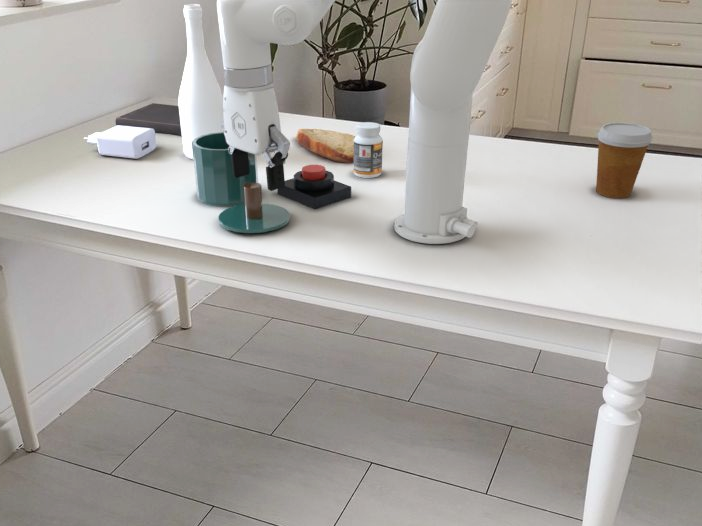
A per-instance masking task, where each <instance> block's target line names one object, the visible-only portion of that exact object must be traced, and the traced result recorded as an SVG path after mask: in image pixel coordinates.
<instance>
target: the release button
mask: <svg viewBox="0 0 702 526" xmlns="http://www.w3.org/2000/svg"><path fill="white" fill-rule="evenodd" d="M325 170H326V167H325V166H324V165H321V164H306V165H304V166H302V167H301V171H302V178H304V179H308V180H320V179H323V178H325V177H326V175H325Z"/></svg>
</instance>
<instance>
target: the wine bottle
mask: <svg viewBox="0 0 702 526" xmlns="http://www.w3.org/2000/svg"><path fill="white" fill-rule="evenodd" d="M182 10H183V17H184V19H185V31H186V43H187V51H186V52H187V53H186V59H185V64H184V69H183V74H182V78H181V83H180V87H179V92H178V100H177V105H178V106H179V114H180V123H181V132H182V135H181V140H182V150H183V151H182V152H183V154H184V155H185V157H186V158H188V159H190V160H192V161H194V159H193V149H192V142H193V140H194V139H195V138H197V137H199V136H202V135H206V134H210V133H219V132H223V130H222V128H221V125H222V124H223V123H224V113H223V95H224V94H223V92H222V89H221V87H220V84H219V82H218V79H217V77H216V74H215V72H214V70H213V67H212V64H211V62H210V59H209V57H208V54H207V51H206V46H205V37H204V36H205V35H204V28H203V19H202V18H203V16H204V15H203V8H202V7H201V4H198V3H190V4H189V3H188V4H184V5H183V9H182Z"/></svg>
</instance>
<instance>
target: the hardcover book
mask: <svg viewBox="0 0 702 526" xmlns="http://www.w3.org/2000/svg"><path fill="white" fill-rule="evenodd" d="M117 125H120V126H131V127H141V128H152V129H154V130H155V133H160V134H161V133H162V134H167V135H175V136H182V132H181V123H180V114H179V105H173V104H166V103H165V104H164V103H155V102H152V103H150V104H147V105H145V106H142V107H140V108H137V109H135V110H133V111H130V112H127V113H125V114H122V115H119V116H118V117H116V118H115V126H117Z"/></svg>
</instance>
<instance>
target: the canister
mask: <svg viewBox="0 0 702 526" xmlns="http://www.w3.org/2000/svg"><path fill="white" fill-rule="evenodd" d="M228 148H229V146H228V145H227V143H226V141H225V136H224V133H223V132H219V133H210V134H206V135H202V136H199V137H197V138H195V139H194V140H193V142H192V149H193V159H194V160H193V168H194V176H195V177H194V178H195V187H196V196H197V200H198V201H199V202H200V203H202V204H204V205H206V206H213V207H219V208H221V207H222V208H224V207H225V208H230V207H233V206H237V205H242V204H245V200H244V184H247V183H253V182H254V183H259V173H258V155H255V154H251V153H248V158H249V168H250V173H249V174H248V175H245V176H242V177H239V178H235V177H233V170H232V161H231V155H232V154H230V153H229V151H228Z"/></svg>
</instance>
